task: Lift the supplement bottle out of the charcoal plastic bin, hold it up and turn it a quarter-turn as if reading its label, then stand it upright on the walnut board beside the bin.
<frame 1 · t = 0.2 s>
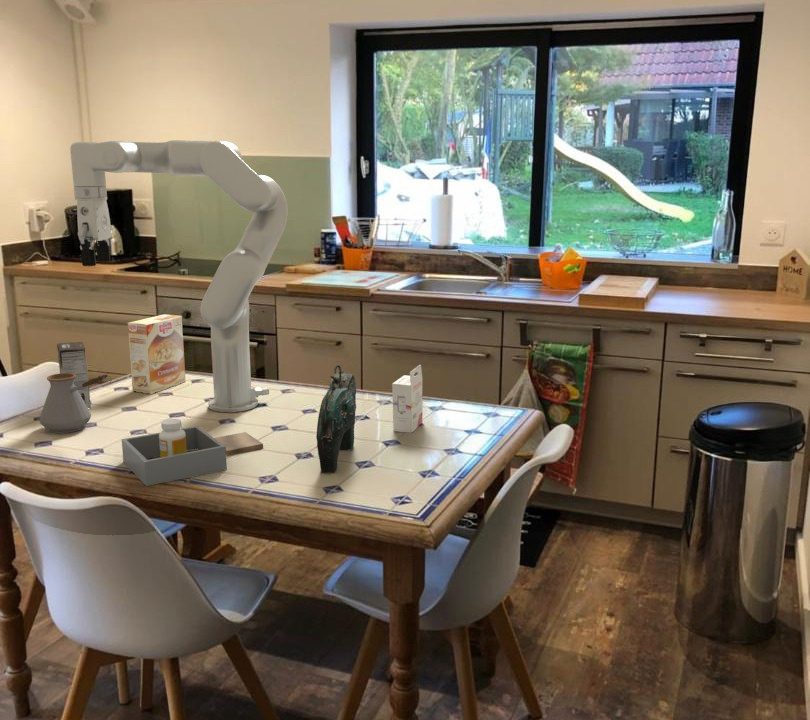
hand: (96, 263, 212), 37 cm above the table, tool pointing down, fingers open, 9 cm apart
coffee pot: (81, 432, 200), on the table
supplement bottle: (174, 466, 177), resting in bin
coffeecake box: (159, 387, 239), on the table
coffee box: (76, 406, 221), on the table
walnut board: (233, 445, 189), on the table
green animal figurine: (339, 459, 181), on the table
ink cartridge box: (407, 427, 202), on the table
bin: (174, 465, 177), on the table
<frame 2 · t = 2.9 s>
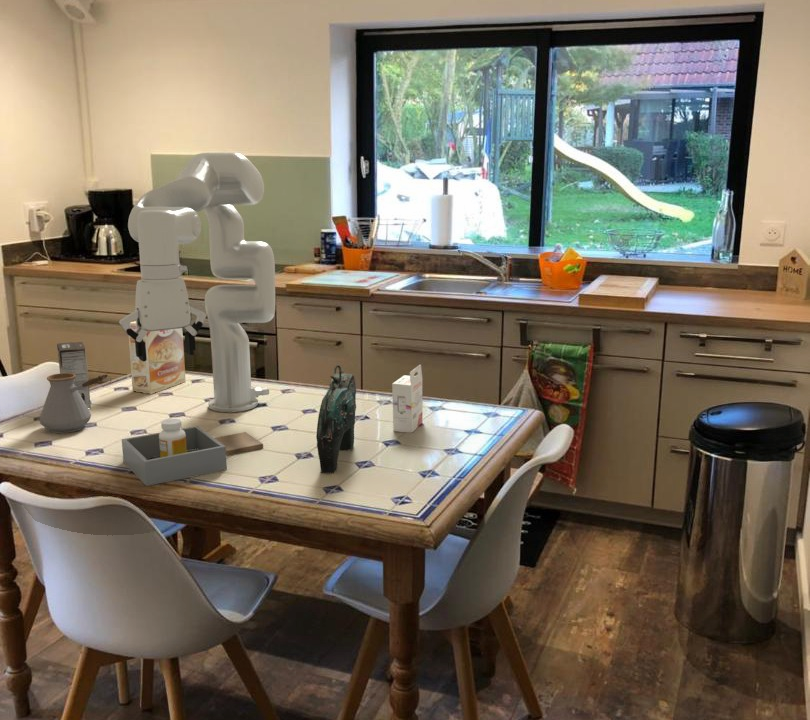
hand: (166, 357, 172), 23 cm above the table, tool pointing down, fingers open, 9 cm apart
nothing on the table moved.
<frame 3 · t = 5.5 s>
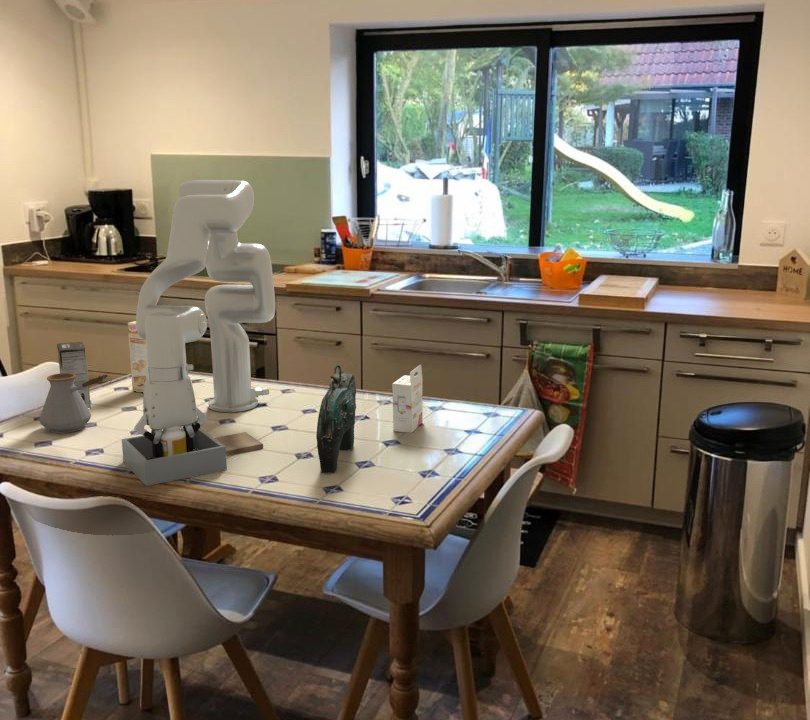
hand: (173, 456, 176), 2 cm above the table, tool pointing down, fingers closed on supplement bottle, 5 cm apart
supplement bottle: (174, 466, 177), resting in bin, touching gripper
everything else where it was.
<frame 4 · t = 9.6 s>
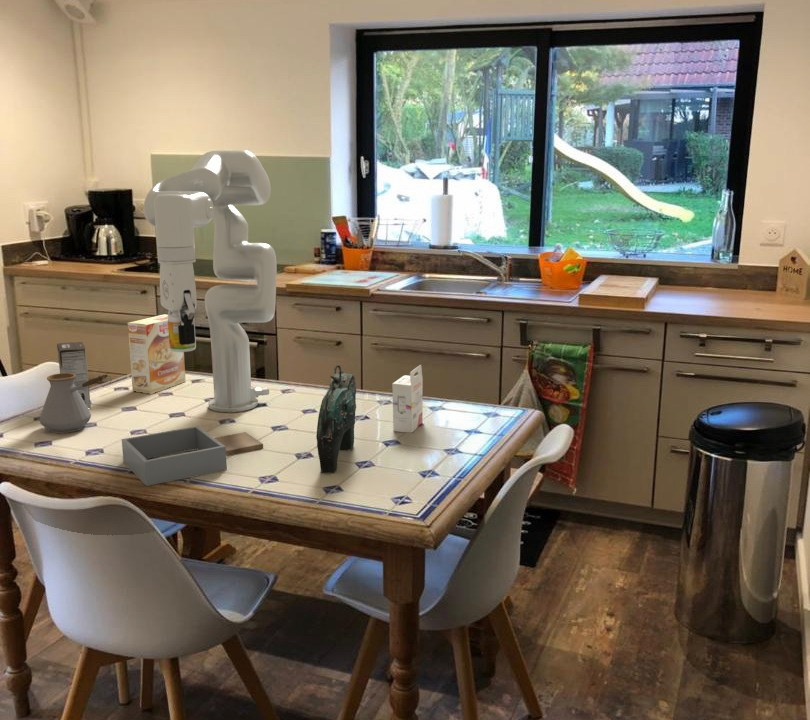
hand: (182, 340, 178), 25 cm above the table, tool pointing down, fingers closed on supplement bottle, 5 cm apart
supplement bottle: (183, 350, 179), point 23 cm above the table, touching gripper
everything else where it was.
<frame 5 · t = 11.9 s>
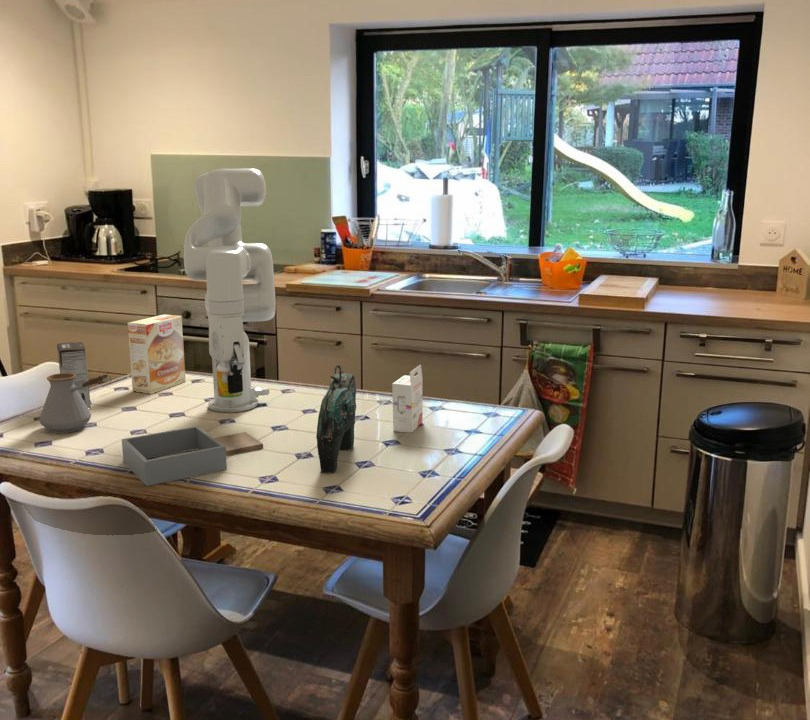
hand: (230, 388, 186), 13 cm above the table, tool pointing down, fingers closed on supplement bottle, 5 cm apart
supplement bottle: (230, 398, 186), point 11 cm above the table, touching gripper
everything else where it was.
when the fingers open (4 cm above the table, at t = 13.8 s): supplement bottle drops 1 cm, resting on walnut board.
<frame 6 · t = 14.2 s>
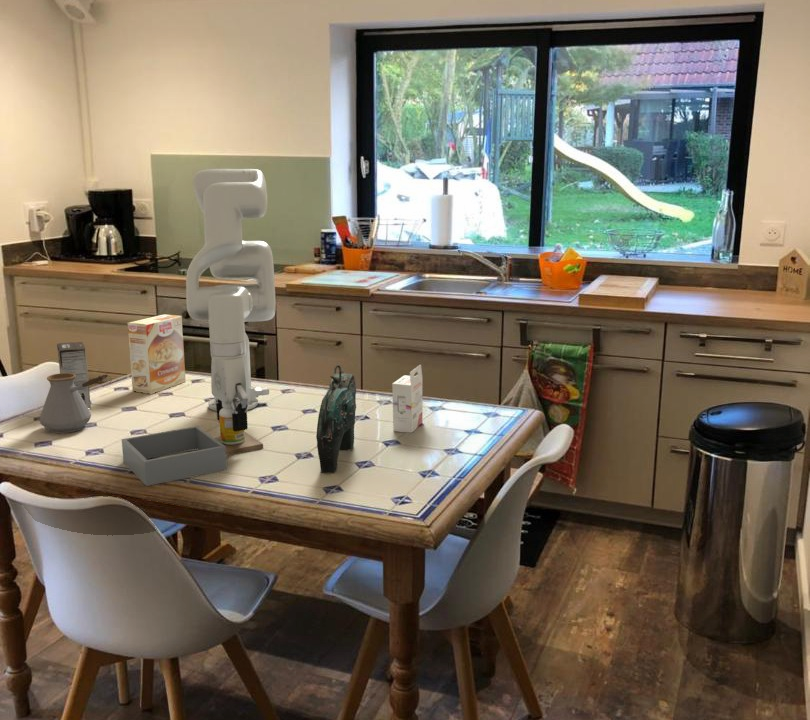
hand: (232, 424, 188), 5 cm above the table, tool pointing down, fingers open, 9 cm apart
supplement bottle: (233, 442, 189), point 1 cm above the table, touching walnut board
everything else where it was.
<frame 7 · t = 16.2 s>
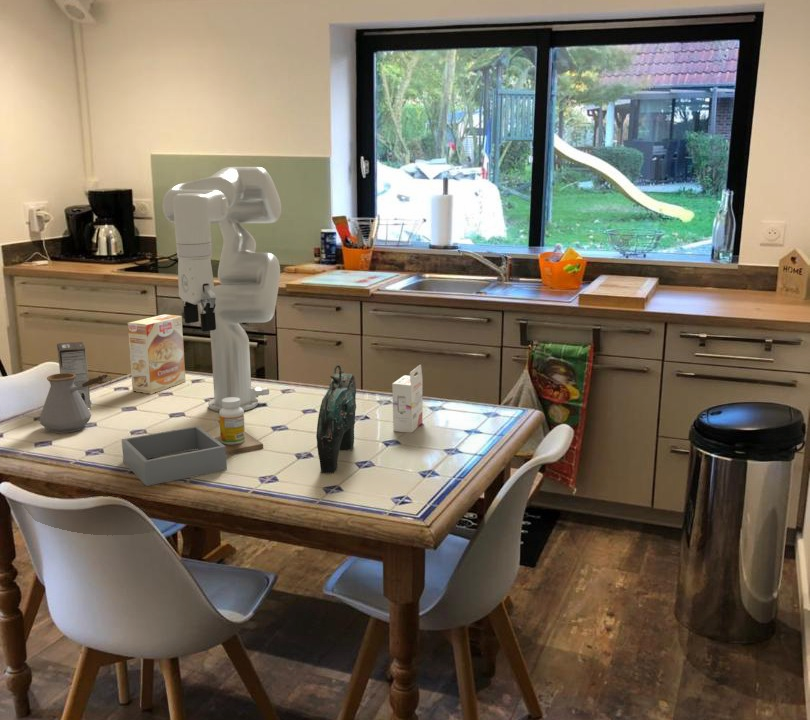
hand: (200, 326, 191), 26 cm above the table, tool pointing down, fingers open, 9 cm apart
nothing on the table moved.
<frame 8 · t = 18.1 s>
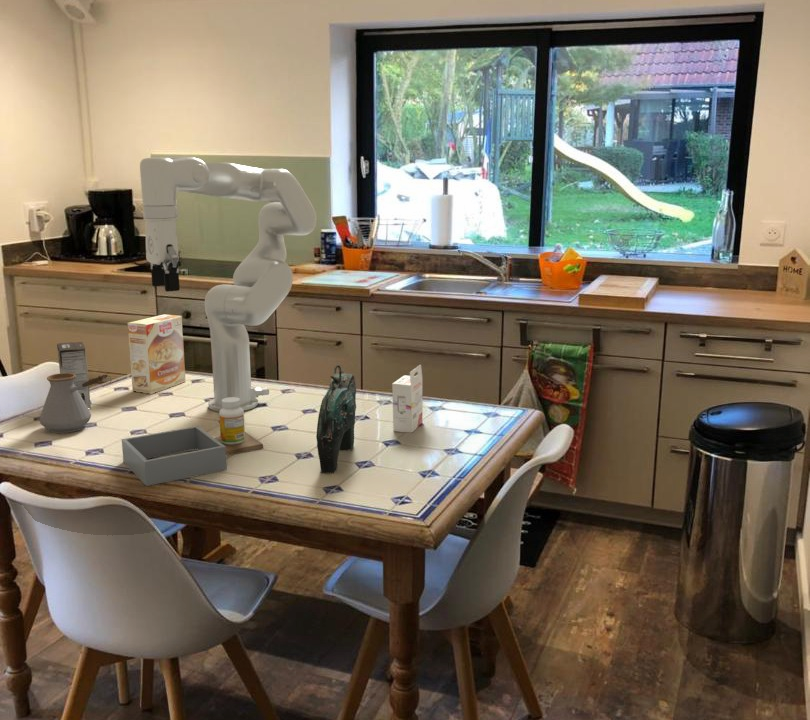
hand: (165, 288, 196), 33 cm above the table, tool pointing down, fingers open, 9 cm apart
nothing on the table moved.
at the end: supplement bottle 0.2 cm off-centre on the walnut board, point 0.8 cm above the walnut board's base; supplement bottle tilted 0° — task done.
